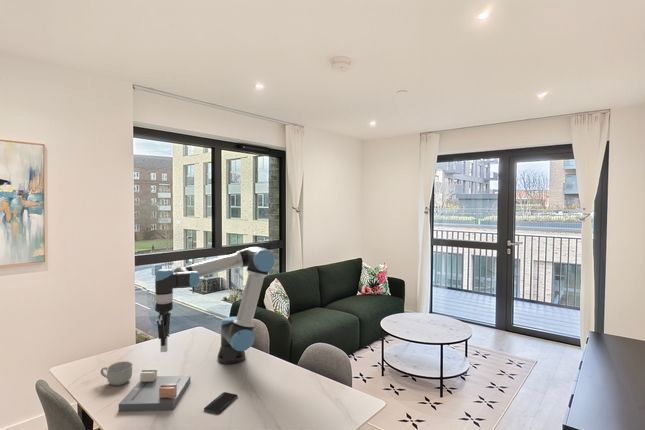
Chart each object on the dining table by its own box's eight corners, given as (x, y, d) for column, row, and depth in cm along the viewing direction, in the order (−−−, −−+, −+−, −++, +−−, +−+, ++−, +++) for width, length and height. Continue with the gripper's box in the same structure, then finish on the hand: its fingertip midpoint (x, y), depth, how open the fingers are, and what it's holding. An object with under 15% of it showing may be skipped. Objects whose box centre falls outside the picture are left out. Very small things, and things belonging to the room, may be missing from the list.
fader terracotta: (176, 392, 156) (176, 382, 156) (173, 397, 152) (173, 387, 152) (162, 392, 155) (162, 382, 155) (159, 397, 151) (159, 387, 151)
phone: (202, 409, 148) (223, 391, 162) (202, 411, 148) (223, 394, 162) (218, 413, 146) (238, 394, 160) (218, 415, 146) (238, 397, 160)
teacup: (137, 377, 176) (137, 361, 175) (122, 389, 165) (122, 372, 165) (110, 376, 177) (110, 360, 177) (94, 387, 166) (94, 370, 166)
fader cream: (157, 377, 169) (157, 368, 169) (153, 381, 165) (153, 372, 165) (143, 377, 169) (143, 368, 169) (140, 381, 165) (140, 372, 165)
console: (190, 381, 172) (190, 375, 172) (173, 409, 149) (173, 402, 148) (143, 382, 171) (143, 376, 171) (118, 411, 147) (118, 403, 147)
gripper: (160, 298, 174) (160, 346, 174) (150, 306, 161) (150, 357, 161) (176, 298, 175) (176, 345, 175) (168, 305, 162) (168, 356, 162)
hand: (163, 351), depth 168 cm, fingers closed
